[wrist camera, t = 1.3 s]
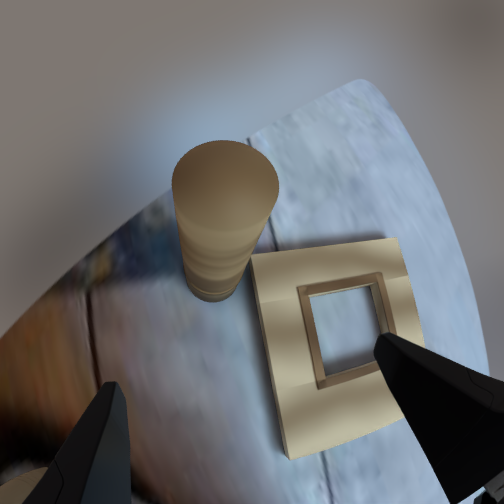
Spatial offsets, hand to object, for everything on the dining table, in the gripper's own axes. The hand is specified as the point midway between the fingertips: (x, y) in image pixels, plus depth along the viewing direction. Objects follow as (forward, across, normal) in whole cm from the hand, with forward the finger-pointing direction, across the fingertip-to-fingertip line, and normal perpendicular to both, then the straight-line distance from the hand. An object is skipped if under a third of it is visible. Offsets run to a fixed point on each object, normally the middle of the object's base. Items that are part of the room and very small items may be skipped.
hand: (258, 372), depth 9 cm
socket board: (+9, -10, +9) cm, 16 cm away
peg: (+14, 0, +4) cm, 14 cm away
